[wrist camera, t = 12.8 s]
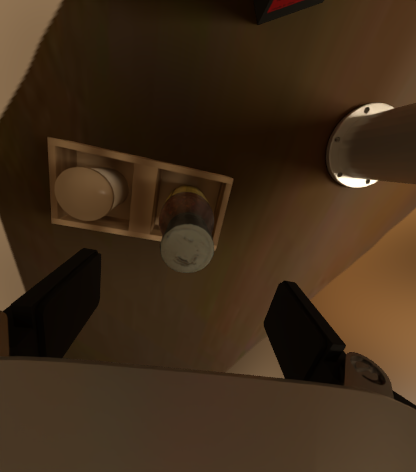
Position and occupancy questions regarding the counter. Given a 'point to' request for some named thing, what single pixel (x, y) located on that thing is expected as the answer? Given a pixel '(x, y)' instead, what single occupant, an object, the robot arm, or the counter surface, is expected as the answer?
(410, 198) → the counter surface
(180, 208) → the sauce bottle
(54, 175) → the caddy
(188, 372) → the robot arm
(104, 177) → the jar
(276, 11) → the cleaning product box
